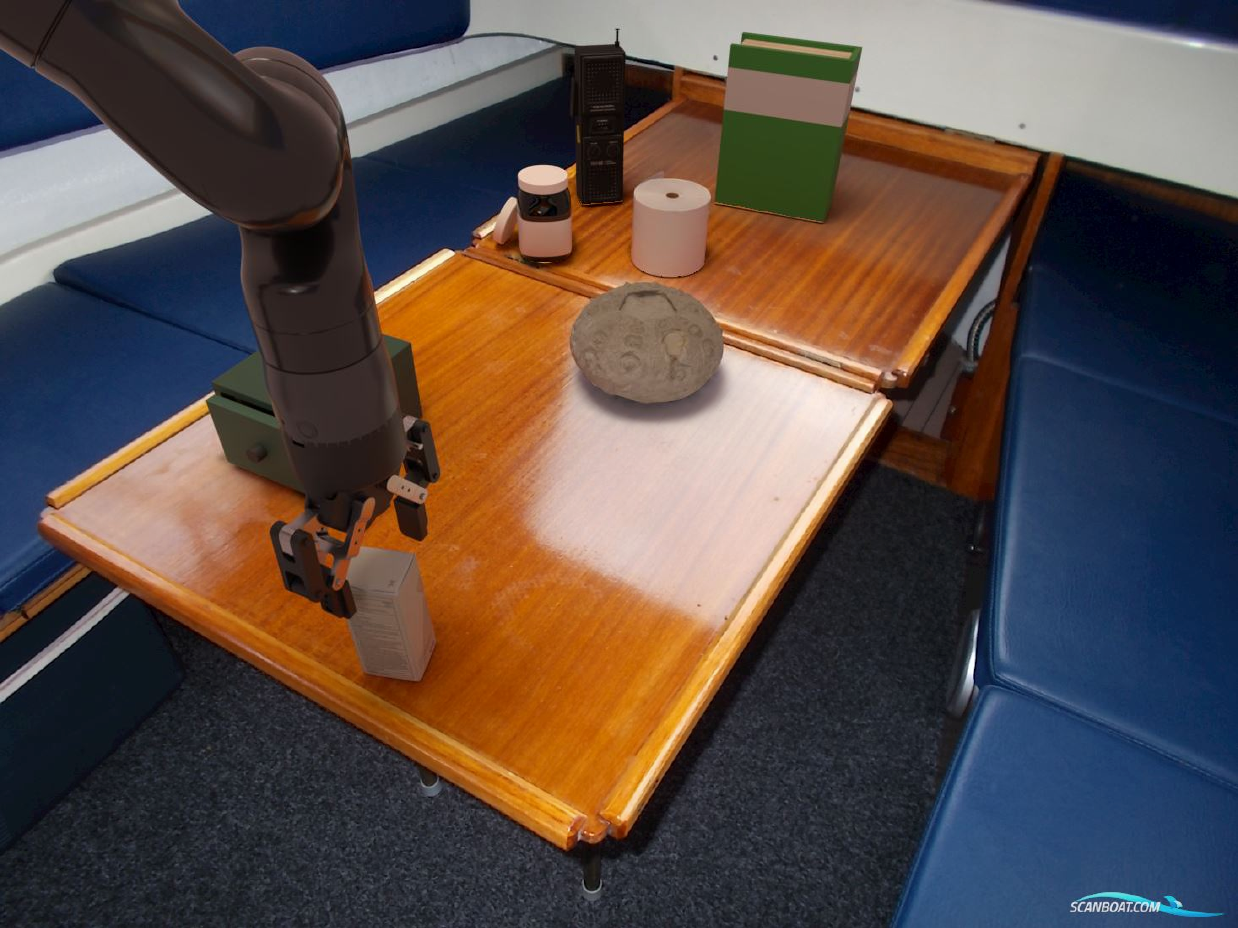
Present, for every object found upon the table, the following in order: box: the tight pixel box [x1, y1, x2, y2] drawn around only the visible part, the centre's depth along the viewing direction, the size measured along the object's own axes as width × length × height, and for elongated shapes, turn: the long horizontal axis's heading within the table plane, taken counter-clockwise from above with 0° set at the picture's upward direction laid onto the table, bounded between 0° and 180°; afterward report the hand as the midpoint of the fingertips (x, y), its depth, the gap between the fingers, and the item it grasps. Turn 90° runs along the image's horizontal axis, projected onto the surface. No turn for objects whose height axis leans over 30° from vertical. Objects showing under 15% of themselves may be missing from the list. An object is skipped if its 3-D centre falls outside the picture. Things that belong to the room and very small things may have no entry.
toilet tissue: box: [630, 169, 712, 278], centre depth 122 cm, size 11×12×10 cm
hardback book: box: [713, 31, 863, 222], centre depth 131 cm, size 18×7×24 cm, turn 69°
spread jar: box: [492, 164, 573, 263], centre depth 122 cm, size 12×11×12 cm
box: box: [345, 545, 437, 682], centre depth 68 cm, size 5×4×11 cm
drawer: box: [205, 393, 305, 495], centre depth 88 cm, size 15×12×8 cm
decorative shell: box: [569, 280, 725, 405], centre depth 99 cm, size 18×18×10 cm
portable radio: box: [569, 28, 627, 204], centre depth 131 cm, size 8×6×25 cm
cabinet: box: [210, 332, 424, 419], centre depth 90 cm, size 15×13×10 cm
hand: (380, 572), depth 65 cm, fingers open, 8 cm apart
